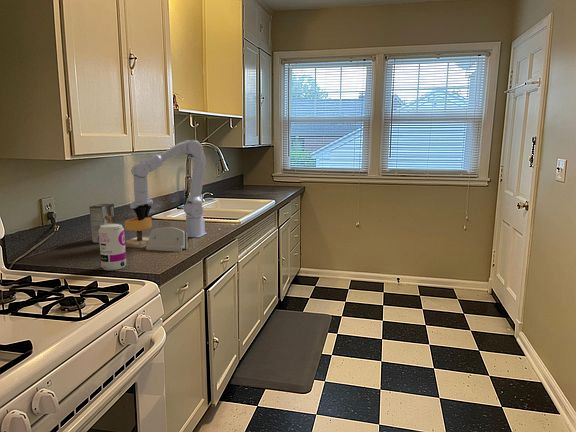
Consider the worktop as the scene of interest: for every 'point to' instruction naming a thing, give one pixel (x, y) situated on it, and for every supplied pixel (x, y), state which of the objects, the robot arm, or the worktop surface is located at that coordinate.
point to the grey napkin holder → (167, 239)
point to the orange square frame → (138, 224)
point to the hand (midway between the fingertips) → (142, 222)
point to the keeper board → (137, 241)
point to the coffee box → (101, 218)
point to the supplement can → (112, 246)
